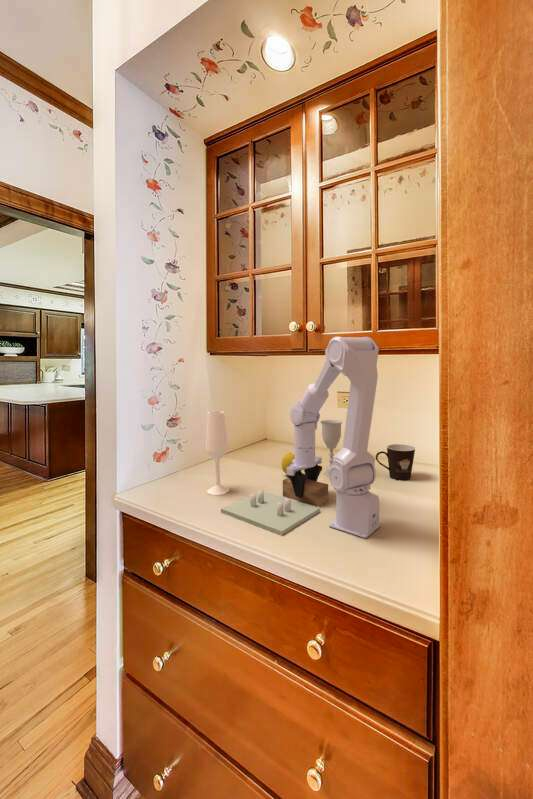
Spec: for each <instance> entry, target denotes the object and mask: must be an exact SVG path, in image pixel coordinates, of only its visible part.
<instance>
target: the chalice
mask: <svg viewBox="0 0 533 799" xmlns="http://www.w3.org/2000/svg"><path fill="white" fill-rule="evenodd" d="M319 421H320V420H319ZM320 424H321V436H322V440H323V442H324V444H325V446H326V448H327V449H329V454H328V455H329V459H328V461H329V465H328V466H326V468H325V470H324V472H323V475H324V476H326V477H329V469H330V467H331V465H332V463H333V457H334V456H335V454H334V449H337V447H338V445H339V442H340V439H341V438H342V424H343V421H342V420H338V419H324V420H321V421H320Z"/></svg>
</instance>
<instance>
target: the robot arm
mask: <svg viewBox="0 0 533 799" xmlns="http://www.w3.org/2000/svg"><path fill="white" fill-rule="evenodd" d="M379 350H380V349H379V347H378V345H377V344H376V343H375V341H374V339H373V338H372V337H369V336H362V337H361V336H360V337H353V336H352V337H351V336H348V337H347V336H346V337H345V336H343V337H342V336H333V337H332V338H331V339H330V340H329V343H328V345H327V347H326V348H325V350H324V351H325V352H324V353H325V355H324V356H325V361H324V363H323V366H322V367H321V370H320V372H319V375H318V376H317V379H316V381H315V382H312V383H310V384H308V386H307V388H306V390H305V392H304V394H303V395H302V397H301V398H300V401H299V402H297V403H294V404H293V403H292V405H291V406H290V410H289V416H290V421H291V422H292V424H293V426H294V427H293V428H294V430H293V432H294V455H295V459H294V460H292V464H291V465H290V466H289V467H287V474H286V475H287V478H289V479H290V481H291V483H292V485H293V488H294V492H295V496H296V497H300V498H302V497H303V494H304V485H305V480H306V479H309V480H313V481H317V482H318V479H319V476H320V474H321V473H322V471H323V466H322V465H321V464H322V463H323V458H322V456H320V455H316V430H317V429H318V422H319V421H320V418H321V415H320V412H319V411H321V409H322V407H323V405H324V404H325V403H326V401H327V399H328V398H329V391H328V389H329V388H330V387H331V385H332V384H333V383H334V381H335V380H336V379H337V377H338V376H339V375H340V374H342V375H343V376H345V377H347V378H348V380H349V382H350V386H349V392H348V393H349V394H348V400H347V410H346V415H345V416H346V418H345V426H344V432H343V433H344V434H343V442H342V448H341V449H340V450H339V451H338V452H336V454H334V455H333V463H332V465H331V467H330V469H329V476H328V480H329V482H330V485H331V487H332V488H333V490H335V491H336V492H335V495H336V496H335V501H336V503H335V505H336V506H335V507H336V508H335V509H336V510H335V513H336V514H335V515H336V516H335V519H334V520H333V521H331V522H330V523H328V527H330V528H333V529H336V530H339V531H342V532H344V533H348V534H352V535H355V536H358V537H361V538H363V539H366V538H368V537H369V536H371V535H372V534H373V533H374V532H375V531H376V530H377V529H378V528H380V527H381V524H380V498H379V495H377V494H375V493H373V492H371V491H370V490H371V485H372V484H374V483H375V481H376V478H377V472H376V467H375V461H376V457H375V456H373V455H372V453H370V452H369V451H368V446H369V440H370V435H371V434H370V433H371V426H372V418H373V412H374V405H375V398H376V392H377V383H378V378H379V377H378V376H379V375H378V367H377V364H378V358H379V357H378V356H379V352H380V351H379ZM318 464H320V465H318ZM302 471H303V472H304V473H303V472H302Z"/></svg>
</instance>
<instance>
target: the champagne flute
mask: <svg viewBox="0 0 533 799" xmlns="http://www.w3.org/2000/svg"><path fill="white" fill-rule="evenodd" d="M206 419H207V420H206V435H205V436H206V437H205V451H206V454H208V456H209V457H210V458H212V459H213V460H215V485H213V486H211V487H210V488H209V489H207V493H208V494H209V495H213V496H220V495H221V494H222V495H225V494H228V493H229V492H230V488H229V487H226V486H224V485H222V484H221V475H220V474H221V472H220V468H221V467H220V459H222V458H223V457H224V456H225V455H226V454H227V452H228V450H229V444H228V443H229V442H228V434H227V428H226V419H225V412H224V411H222V410H213V411H212V410H211V411H208V412H207V415H206ZM227 492H228V493H227ZM222 495H221V496H222Z"/></svg>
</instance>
